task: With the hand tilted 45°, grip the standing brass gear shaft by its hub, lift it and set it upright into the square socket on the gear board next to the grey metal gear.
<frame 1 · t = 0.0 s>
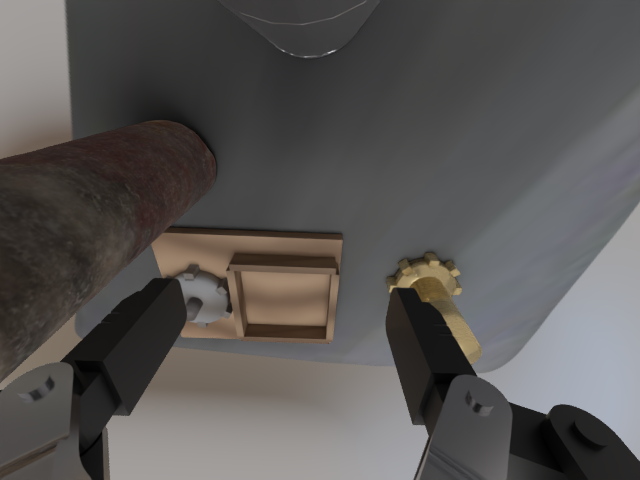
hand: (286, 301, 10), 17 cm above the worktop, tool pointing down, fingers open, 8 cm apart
gear shaft: (420, 281, 32), on the worktop
gear board: (254, 287, 32), on the worktop
candle: (177, 161, 25), on the worktop
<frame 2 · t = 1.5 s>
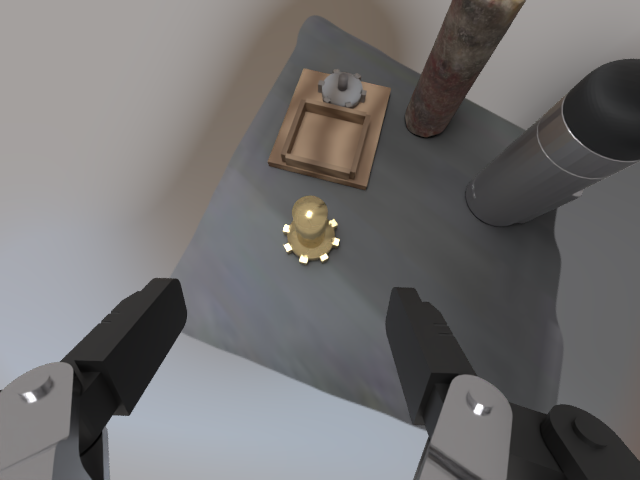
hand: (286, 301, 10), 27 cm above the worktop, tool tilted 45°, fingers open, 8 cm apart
gear shaft: (311, 238, 39), on the worktop
gear board: (332, 127, 45), on the worktop
candle: (423, 121, 46), on the worktop
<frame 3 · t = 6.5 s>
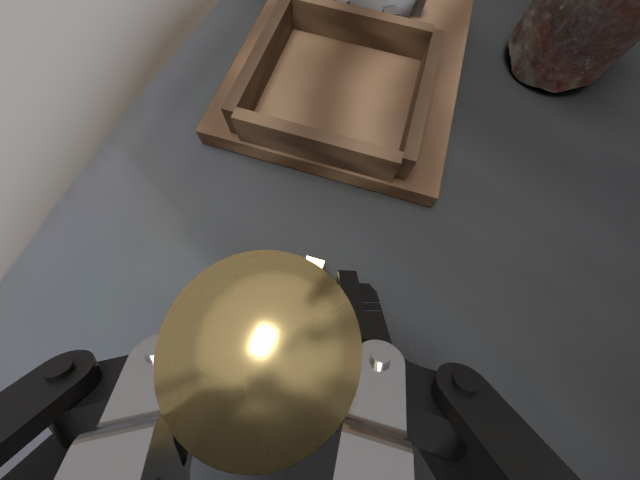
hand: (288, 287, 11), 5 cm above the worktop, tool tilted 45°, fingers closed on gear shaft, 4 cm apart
gear shaft: (293, 334, 15), on the worktop, touching gripper
gear board: (350, 68, 21), on the worktop
candle: (543, 63, 22), on the worktop
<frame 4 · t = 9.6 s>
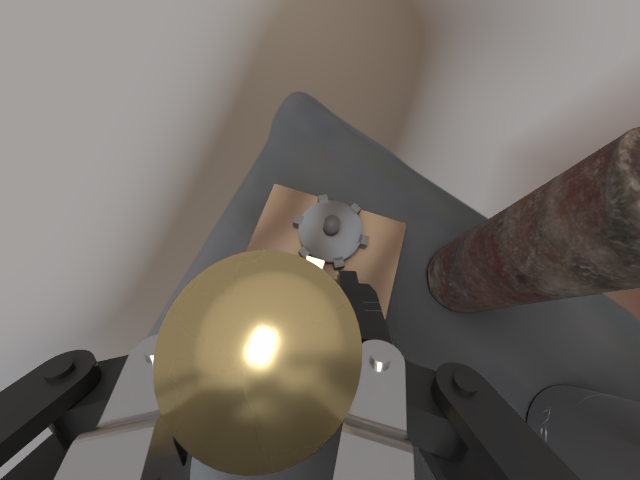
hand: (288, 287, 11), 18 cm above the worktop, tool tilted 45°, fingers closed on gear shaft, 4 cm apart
gear shaft: (293, 334, 15), point 13 cm above the worktop, touching gripper
gear board: (312, 287, 29), on the worktop
candle: (455, 277, 30), on the worktop
when the fingers open (7 cm above the worktop, at t = 12.7 s): gear shaft drops 1 cm, resting on gear board.
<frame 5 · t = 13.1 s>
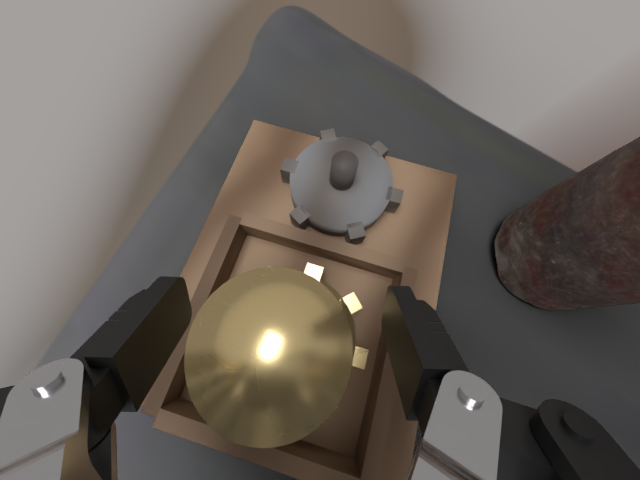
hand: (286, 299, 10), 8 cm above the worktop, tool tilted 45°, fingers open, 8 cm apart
gear shaft: (295, 335, 16), point 1 cm above the worktop, touching gear board
gear board: (314, 274, 18), on the worktop
candle: (534, 257, 19), on the worktop
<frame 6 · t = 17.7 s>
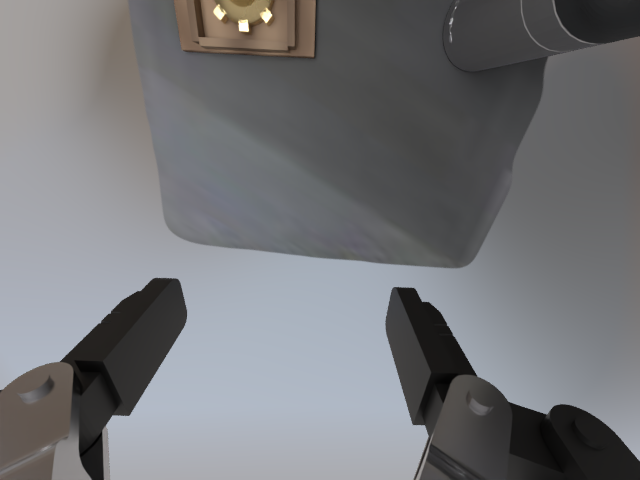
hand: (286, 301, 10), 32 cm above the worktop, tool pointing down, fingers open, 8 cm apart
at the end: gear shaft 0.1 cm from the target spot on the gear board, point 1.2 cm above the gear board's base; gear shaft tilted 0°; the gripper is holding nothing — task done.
